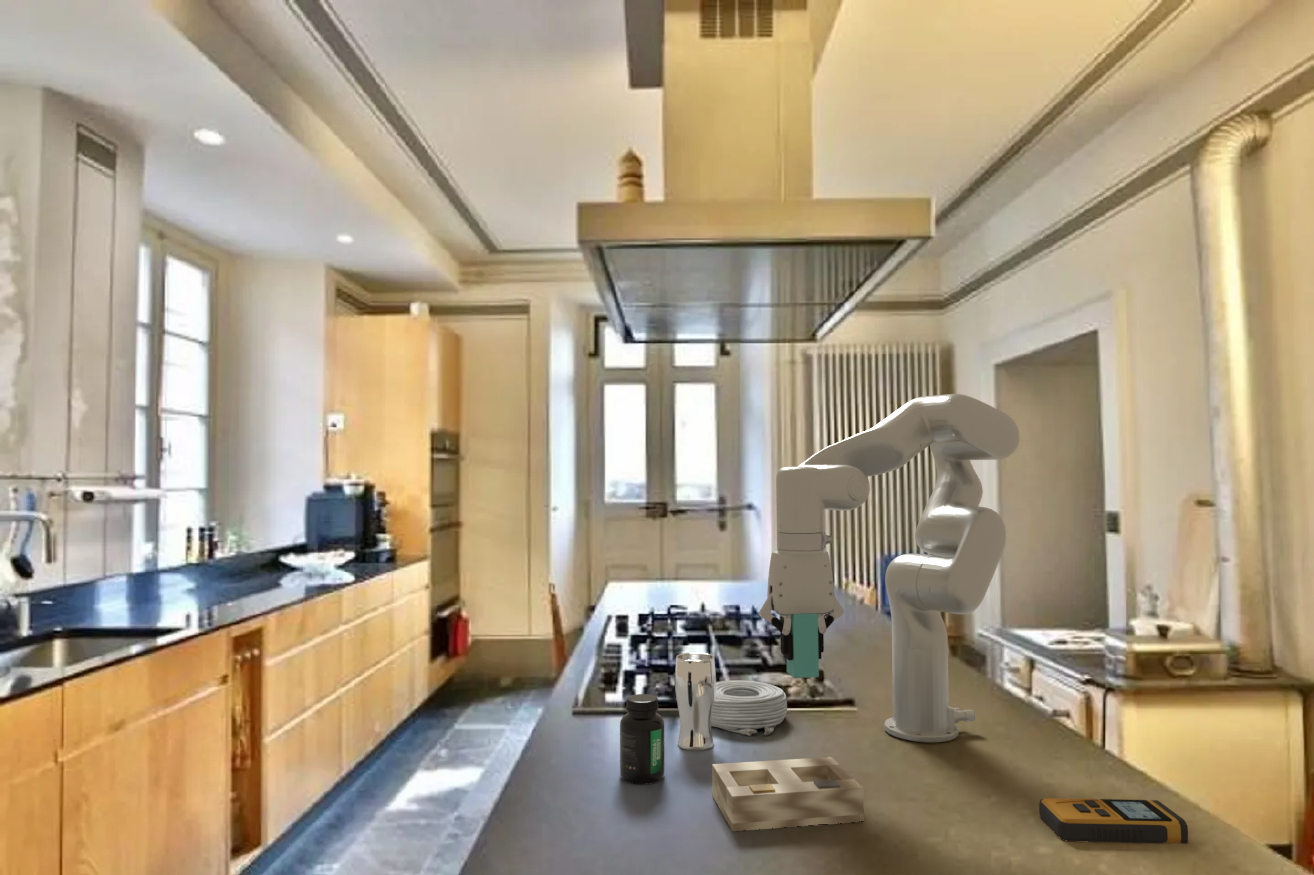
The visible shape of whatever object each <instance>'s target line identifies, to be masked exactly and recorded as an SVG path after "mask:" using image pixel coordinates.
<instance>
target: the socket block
mask: <svg viewBox="0 0 1314 875" xmlns="http://www.w3.org/2000/svg"><path fill="white" fill-rule="evenodd" d="M711 766H712V767H711V770H712V771H711V772H712V773H711V774H712V775H711V777H712V778H711V782H712V783H711V784H712V788H711V789H712V792H711V793H712V794H711V795H712V797H713V799H714V801H715V802H716V805H717V804H718V805H717V807H718V808H719V810H720V812H721V814H722V815H723V817H724V819H725V820H726V823H727V822H728V823H727V824H728V826H729V828H730V827H731V828H730V830H731V831H732V832H742V831H743V830H746V831H756V830H757V831H758V830H759V829H760V830H770V829H771V830H772V828H773V829H783V828H784V827H787V828H798V827H797V826H801V827H809V826H808V825H814V826H819V825H818V824H828V825H840V823H842V824H852V823H851V822H855V823H862V822H861V821H864V820H865V819H864V817H865V816H864V814H865V813H864V787H863V786H862V785H861V784H860V783H859V782H858V781H857V780H856V779H855V778H854V777H853V776H851V775H850V774H849V772H847V771H846V770H845V769H844V768H843V767H842V766H841V765H840V764H839V763H838V762H837V761H836V760H835V759H834V758H833V757H831V756H828V757H827V756H826V757H825V756H824V757H823V756H822V757H811V758H810V757H809V758H795V759H794V758H793V759H792V758H791V759H776V760H760V761H743V762H727V763H724V762H723V763H713V764H711ZM859 821H860V822H859ZM864 822H865V821H864ZM838 823H839V824H838ZM815 824H816V825H815ZM805 825H806V826H805ZM782 827H783V828H782ZM784 829H785V828H784ZM743 832H744V831H743Z"/></svg>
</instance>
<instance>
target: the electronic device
mask: <svg viewBox="0 0 1314 875" xmlns="http://www.w3.org/2000/svg"><path fill="white" fill-rule="evenodd" d="M1038 814H1039V817H1040V820H1042V822H1043V823H1044V822H1045V823H1046V824H1047V825H1048V826H1049V827H1050V828H1051V829H1052V830H1053V831H1054V832H1053V831H1052V830H1051V829H1050V828H1049V827H1048V826H1047V825H1046V824H1045V823H1044V824H1045V825H1046V826H1047V827H1048V828H1049V829H1050V830H1051V831H1052V832H1053V833H1054V834H1055V835H1056V837H1058V838H1059V837H1060V838H1061V839H1060V838H1059V839H1060V840H1062V839H1064V840H1063V841H1065V840H1067V841H1066V842H1074V841H1088V842H1087V843H1092V842H1093V843H1125V844H1126V843H1129V844H1130V843H1131V844H1132V843H1134V844H1137V843H1138V844H1168V843H1169V844H1188V843H1189V827H1188V823H1187V822H1186V820H1185V819H1184V818H1183V817H1181V816H1180V815H1179V814H1178V813H1176V812H1174V811H1173V810H1172V809H1171V808H1169V807H1167V806H1166V805H1165V804H1164V803H1162V802H1161V801H1159V800H1156V799H1155V800H1154V799H1153V800H1152V799H1121V798H1120V799H1115V798H1114V799H1113V798H1099V799H1097V798H1066V797H1065V798H1062V797H1061V798H1058V797H1057V798H1056V797H1055V798H1054V797H1053V798H1051V797H1050V798H1042V799H1041V798H1040V799H1039V802H1038Z"/></svg>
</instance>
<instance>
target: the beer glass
mask: <svg viewBox="0 0 1314 875" xmlns="http://www.w3.org/2000/svg"><path fill="white" fill-rule="evenodd" d="M675 657H676V660H675V672H674V674H675V675H674V677H675V678H674V685H675V687H674V688H675V696H676V702H677V703H676V704H677V708H678V715H679V722H680V723H679V724H680V725H679V734H678V738H677V739H678V740H677V745H678V747H679V748H680V749H683V750H686V751H693V752H697V751H706V750H710V749H711V748H713V747H714V737H713V732H712V726H711V717H712V710H713V704H714V698H715V689H716V682H717V680H716V676H717V675H716V665H715V664H716V663H715V656H714V655H713V654H710V653H705V652H685V653H679V654H677V655H676V656H675Z"/></svg>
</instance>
